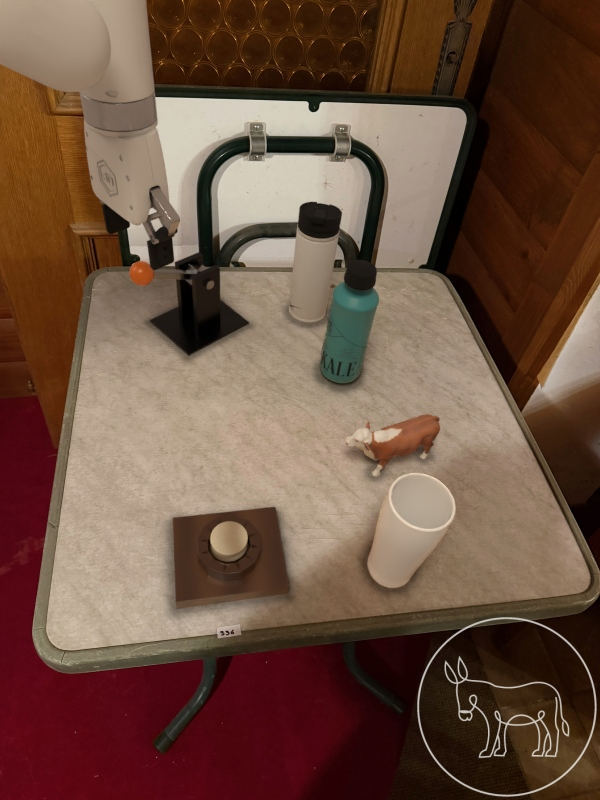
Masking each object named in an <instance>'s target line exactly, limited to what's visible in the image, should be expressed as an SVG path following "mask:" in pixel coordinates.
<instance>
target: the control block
mask: <svg viewBox="0 0 600 800" xmlns="http://www.w3.org/2000/svg"><path fill="white" fill-rule="evenodd" d="M277 513H278V512H277V508H276V506H270V507H260V508H249V509H241V510H233V511H222V512H213V513H204V514H195V515H185V516H176V517H172V537H173V540H172V541H173V565H174V567H173V569H174V591H175V592H174V594H175V595H174V596H175V605H176V609H177V610H178V609H185V608H186V609H187V608H193V607H201V606H208V605H215V604H221V603H222V604H223V603H230V602H237V601H244V600H251V599H258V598H259V599H260V598H265V597H266V598H267V597H273V596H281V595H288V594H289V590H290V583H289V577H288V572H287V567H286V561H285V560H286V559H285V555H284V549H283V543H282V538H281V532H280V526H279V525H280V524H279V520H278V515H277ZM227 521H233V522H237V523H239V524H240V525H242V526H243V527H244V528H245V530H246V532H247V535H248V543H247V550H246V552H245V554H244V555H243V556H242V557H241V558H240V559H238V560H236V561H232V562H224V561H221V560H219V559H217V558H216V557H215V556H214V555H213V553H212V551H211V544H210V537H211V533H212V531H213V529H214V528H215V527H216V526H217V525H219V524H220V523H223V522H227Z"/></svg>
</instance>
